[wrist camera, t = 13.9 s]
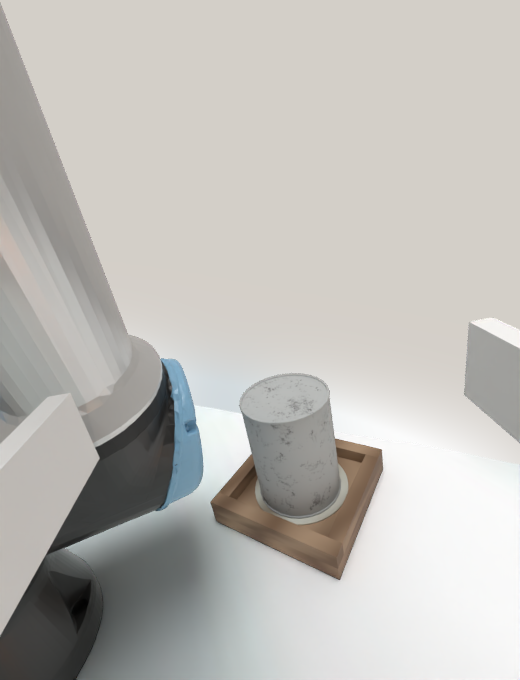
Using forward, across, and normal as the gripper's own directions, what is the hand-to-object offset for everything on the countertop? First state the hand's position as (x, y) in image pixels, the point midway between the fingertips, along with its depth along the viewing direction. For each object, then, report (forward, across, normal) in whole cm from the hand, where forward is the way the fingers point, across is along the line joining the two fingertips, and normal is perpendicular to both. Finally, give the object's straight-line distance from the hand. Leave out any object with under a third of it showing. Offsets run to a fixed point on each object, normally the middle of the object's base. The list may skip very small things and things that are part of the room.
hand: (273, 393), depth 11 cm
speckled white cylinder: (+21, +1, -26) cm, 33 cm away
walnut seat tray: (+21, +1, -27) cm, 34 cm away
